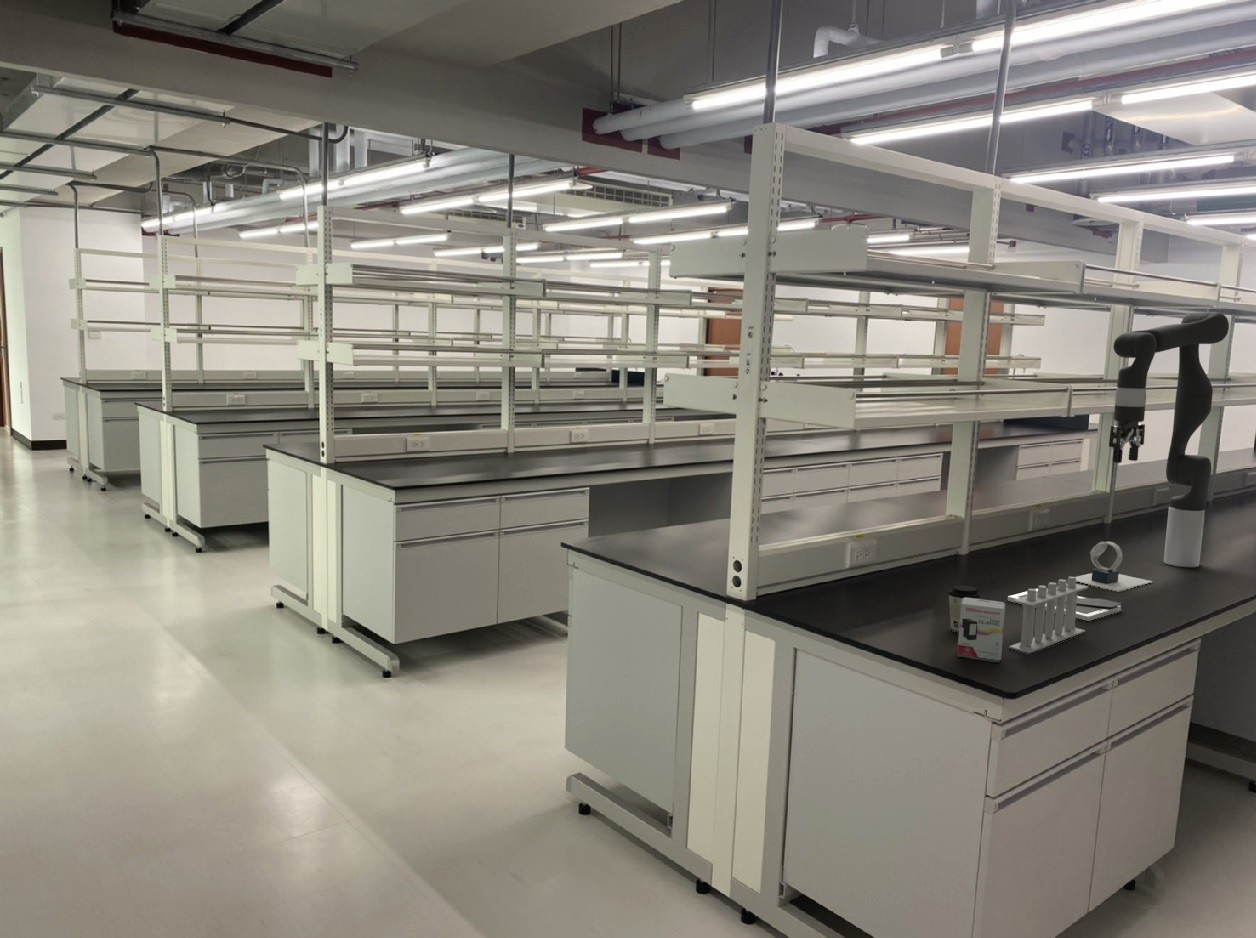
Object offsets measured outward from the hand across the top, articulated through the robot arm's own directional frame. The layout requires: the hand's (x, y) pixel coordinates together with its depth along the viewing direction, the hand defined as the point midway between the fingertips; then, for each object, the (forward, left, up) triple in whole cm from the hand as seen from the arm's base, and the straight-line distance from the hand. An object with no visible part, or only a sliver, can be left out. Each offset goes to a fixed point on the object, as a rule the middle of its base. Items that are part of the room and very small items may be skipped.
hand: (1125, 461), depth 255 cm
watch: (+12, +4, -32) cm, 35 cm away
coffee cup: (+84, +10, -33) cm, 91 cm away
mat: (+10, +4, -33) cm, 34 cm away
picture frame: (+45, +11, -34) cm, 57 cm away
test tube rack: (+73, +25, -33) cm, 84 cm away
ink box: (+96, +23, -33) cm, 104 cm away
